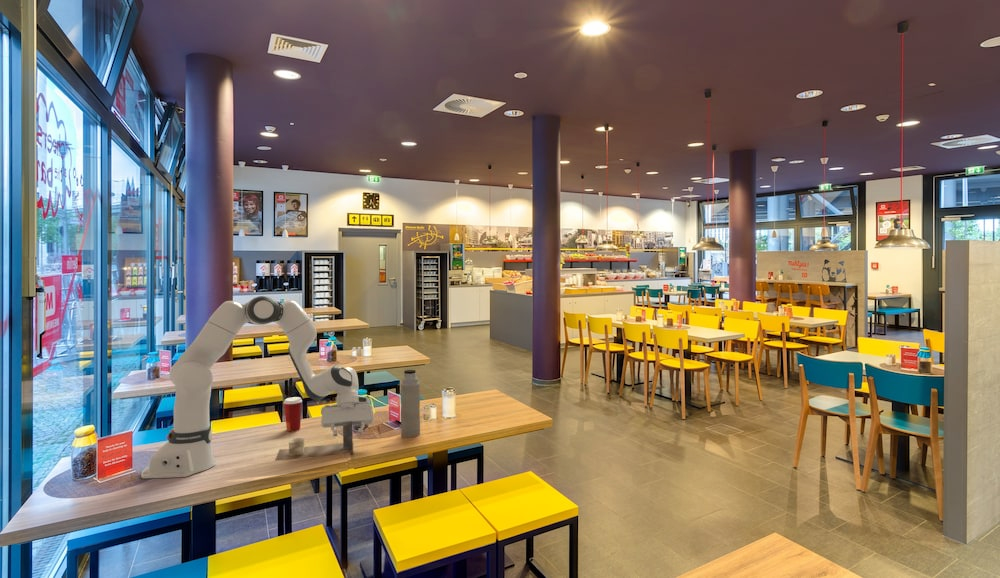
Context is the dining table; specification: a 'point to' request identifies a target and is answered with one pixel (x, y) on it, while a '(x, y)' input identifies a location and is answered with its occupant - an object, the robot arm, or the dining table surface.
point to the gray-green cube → (296, 446)
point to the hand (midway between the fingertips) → (347, 434)
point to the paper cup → (293, 413)
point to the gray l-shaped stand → (324, 447)
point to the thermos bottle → (410, 404)
